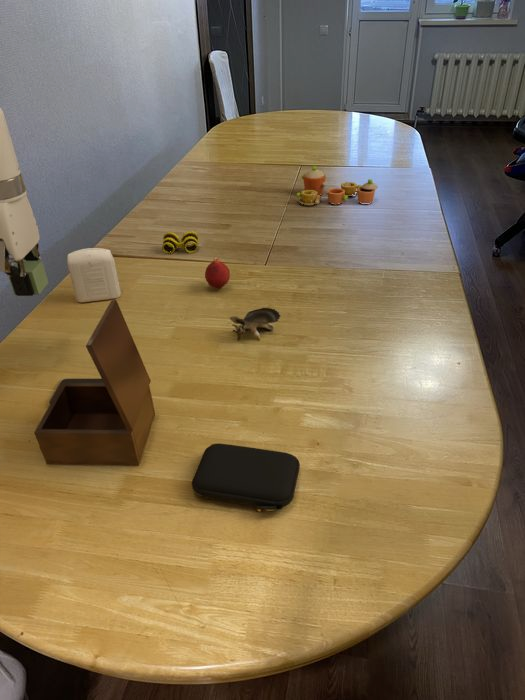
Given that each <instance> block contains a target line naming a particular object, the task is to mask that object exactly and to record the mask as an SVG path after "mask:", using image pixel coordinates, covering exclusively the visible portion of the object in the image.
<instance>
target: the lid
mask: <svg viewBox="0 0 525 700" xmlns="http://www.w3.org/2000/svg"><path fill="white" fill-rule="evenodd" d="M85 348H86V349H87V352H88V354H89V356H90V357H91V360H92V362H93V364H94V366H95V368H96V370H97V372H98V374H99V376H100V379H102V380H103V382H104V384H105V386H106V388H107V390H108V392H109V394H110V396H111V398H112V400H113V402H114V404H115V406H116V408H117V410H118V412H119V414H120V416H121V418H122V420H123V422H124V424H125V426H126V429H127V431H128V432H129V431H133V429H134V427H135V424H136V421H137V418H138V415H139V413H140V410H141V407H142V404H143V401H144V399H145V396H146V393H147V390H148V387H149V386H150V384H151V382H152V381H151V377H150V376H149V373H148V371H147V368H146V367H145V363H144V362H143V359H142V357H141V355H140V352H139V349H138V348H137V345H136V343H135V340H134V339H133V336H132V334H131V331H130V328H129V326H128V324H127V322H126V320H125V317H124V315H123V312H122V310H121V308H120V305H119V303H118V301H117V299H111V300H110V301H109V304H108V306H107V307H106V309H105V311H104V313H103V314H102V316H101V318H100V320H99V322H98V323H97V325H96V327H95V329H94V330H93V332H92V334H91V336H90V338H89V339H88V341H87V342H86V344H85Z"/></svg>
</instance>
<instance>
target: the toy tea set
mask: <svg viewBox="0 0 525 700" xmlns="http://www.w3.org/2000/svg"><path fill="white" fill-rule="evenodd" d="M301 179H302V180H303V185H304V190H302V191H300V192H297V193H296V194H295V197H296V198H299V199H298V203H299V202H300V203H301V205H303V204H304V205H303V206H315V205H319V204H320V200H321V198H322V196H317V195H320V194H322V193H323V194H324V188H325V187H327V182H326V174H325V173H324V172H322V171H321V170H320V169H318V167H317V166H316V165H313V166H312V168H311V169H310V170H308V171H307V172H306V173H304V174H301ZM378 188H379V187H378V185H377V184H376V183H374V182H373V179H372V178H369V179H368V180H367V182H365V183H364V184H362V185H361V184H357V183H356V182H352V181H345V182H342V183H341V184H340V187H334V188H333V187H332V188H329V189H327V192H326V193H325V194H326V196H327V200H328V201H329V202H330V203H334V204H338V203H342V202H343V203H344V201H347V200H348V198H349V197H348V196H353V195H356V194H357V195H356V197H357V202H358V201H359V202H361V203H370V202H372V203H373V201H374V198H375V193H376V190H377V189H378ZM355 192H357V193H356V194H355ZM323 194H322V195H323ZM352 194H353V195H352ZM329 202H328V203H329ZM300 203H299V204H300ZM343 203H342V204H343ZM314 204H315V205H314Z"/></svg>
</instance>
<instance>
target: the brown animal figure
mask: <svg viewBox="0 0 525 700" xmlns="http://www.w3.org/2000/svg"><path fill="white" fill-rule="evenodd" d="M281 316H282V315H281V314H280V312H278V310H276V309H275V308H270V307H261V308H257V309H253V310H249V311H248V312H247V313H246V314H245V316H244V317H243V318H240V317H239V316H236V315H233V316H229V320H230V321H231V322H232V323H234V324H231V326H233V327H235V328H234V329H232V332H233V333H235V334H236V335H237V338H236V341H240V340H241V339H242V338H243V336H244V334H245V333H247V332H249V333H250V334H251V335H253V336H255V338H257V339H258V341H261V334H260V332H259V331H258V330H257V329H258V328H259V329H267V330H270V331H273V330H275V328H274V326H273V325H271V324H273V323H278V321H279V319H281Z"/></svg>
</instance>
